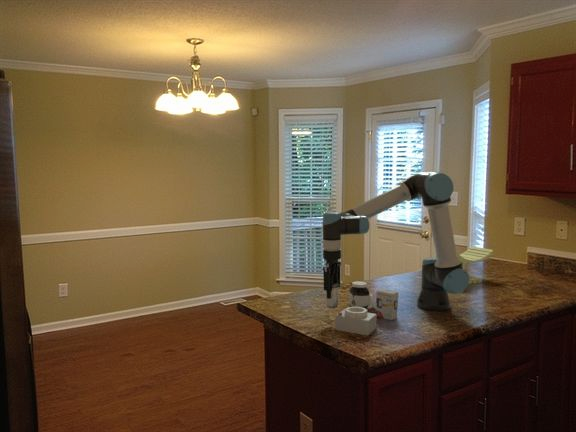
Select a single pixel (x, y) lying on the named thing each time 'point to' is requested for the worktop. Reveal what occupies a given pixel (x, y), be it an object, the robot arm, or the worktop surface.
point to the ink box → (386, 304)
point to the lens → (334, 295)
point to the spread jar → (360, 295)
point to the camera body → (355, 321)
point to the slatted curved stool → (474, 259)
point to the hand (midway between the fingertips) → (332, 303)
